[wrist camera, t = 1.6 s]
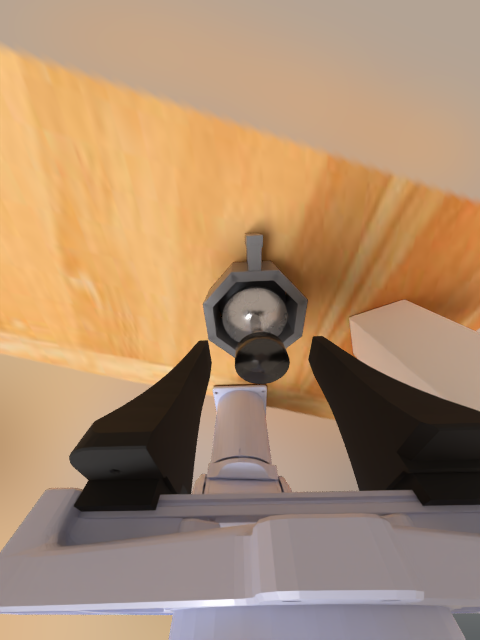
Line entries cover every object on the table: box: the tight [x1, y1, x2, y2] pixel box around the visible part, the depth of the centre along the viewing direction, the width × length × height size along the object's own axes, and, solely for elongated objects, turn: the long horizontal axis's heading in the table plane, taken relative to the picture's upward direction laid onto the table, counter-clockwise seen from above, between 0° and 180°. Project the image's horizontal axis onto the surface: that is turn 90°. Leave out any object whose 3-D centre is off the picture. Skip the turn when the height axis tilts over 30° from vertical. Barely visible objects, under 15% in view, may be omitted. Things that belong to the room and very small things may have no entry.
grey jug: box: [203, 233, 308, 357], centre depth 17 cm, size 12×9×4 cm
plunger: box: [222, 286, 290, 384], centre depth 14 cm, size 6×6×6 cm
